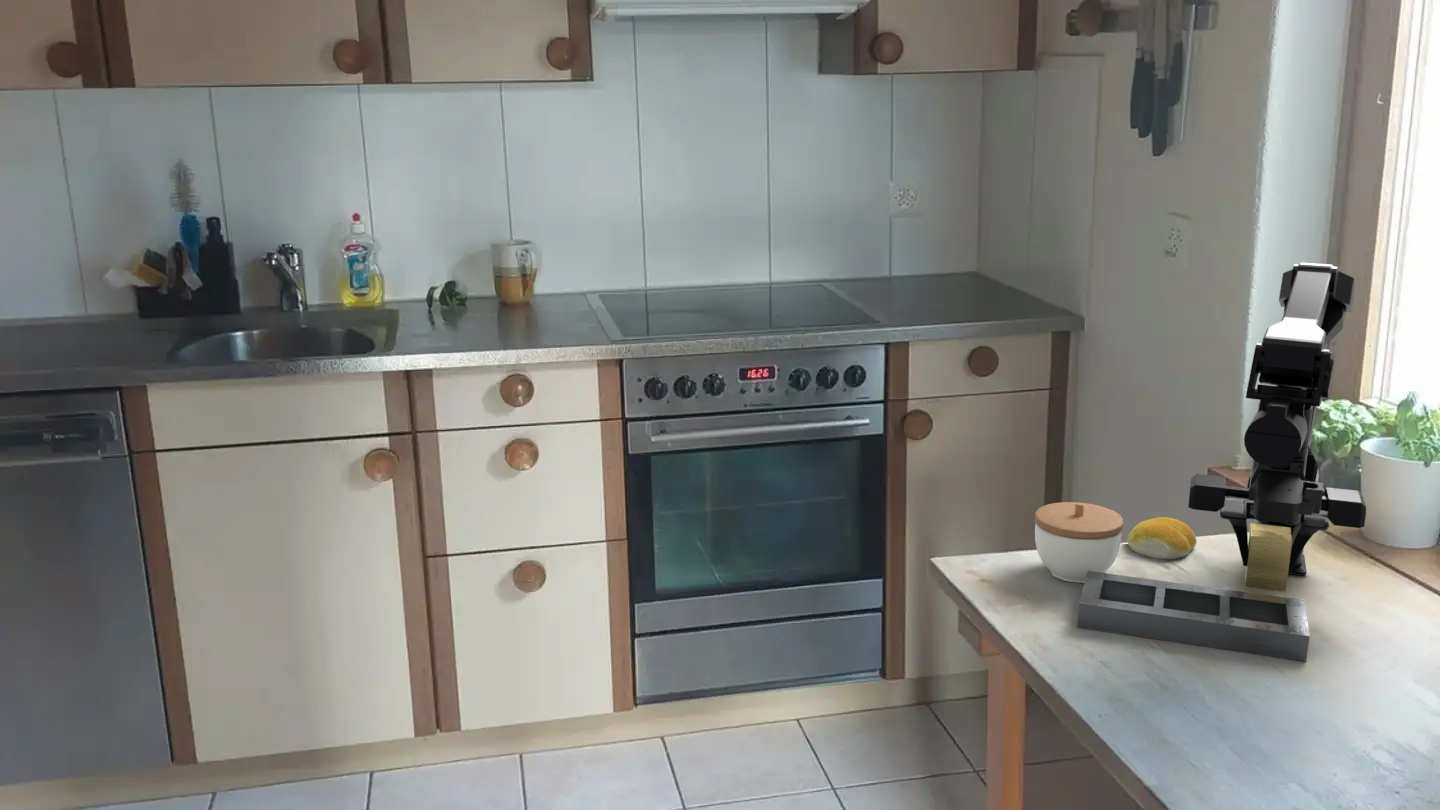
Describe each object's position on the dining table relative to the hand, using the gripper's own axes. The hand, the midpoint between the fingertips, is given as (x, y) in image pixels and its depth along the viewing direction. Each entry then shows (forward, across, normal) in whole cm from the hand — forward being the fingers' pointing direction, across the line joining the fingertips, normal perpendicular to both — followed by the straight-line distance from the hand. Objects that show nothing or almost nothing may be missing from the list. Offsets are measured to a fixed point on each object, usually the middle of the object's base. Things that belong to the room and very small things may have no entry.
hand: (1266, 567), depth 147 cm
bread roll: (+5, -12, +14) cm, 19 cm away
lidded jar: (+5, -22, +1) cm, 23 cm away
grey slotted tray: (+4, -8, -10) cm, 13 cm away
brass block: (+2, 0, 0) cm, 2 cm away
